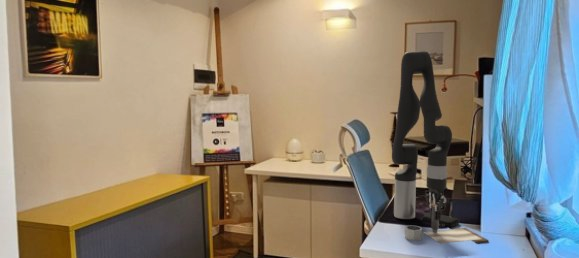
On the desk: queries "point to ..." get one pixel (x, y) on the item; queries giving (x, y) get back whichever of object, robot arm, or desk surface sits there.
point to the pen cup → (413, 233)
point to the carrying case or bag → (442, 220)
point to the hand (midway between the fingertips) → (435, 218)
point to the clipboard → (456, 236)
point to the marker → (434, 222)
